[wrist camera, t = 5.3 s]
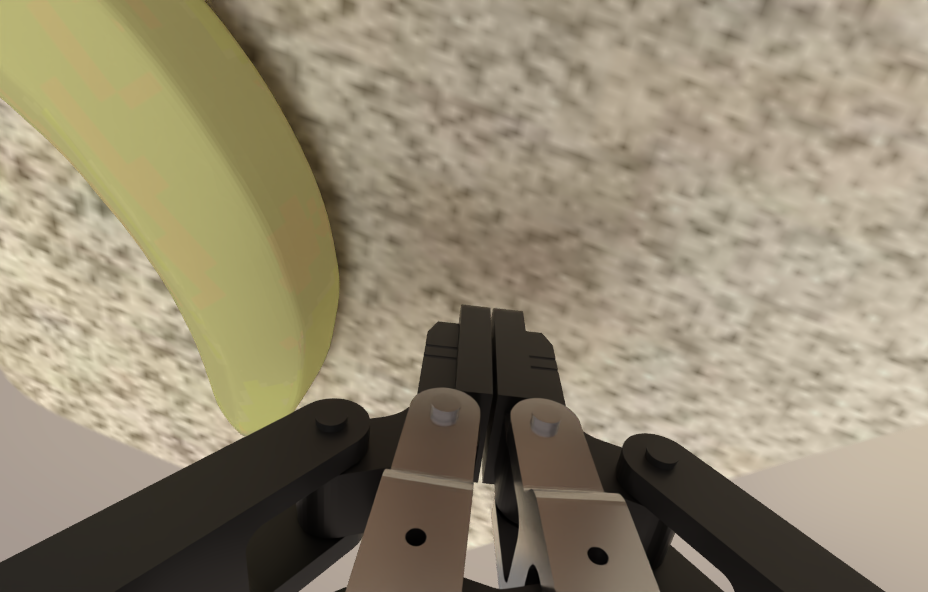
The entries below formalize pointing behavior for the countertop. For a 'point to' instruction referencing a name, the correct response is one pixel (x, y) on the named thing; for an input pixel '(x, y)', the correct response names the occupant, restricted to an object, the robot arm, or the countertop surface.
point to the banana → (189, 179)
